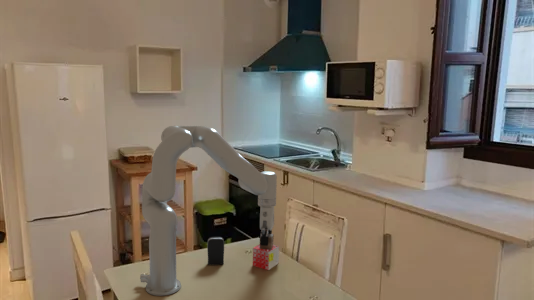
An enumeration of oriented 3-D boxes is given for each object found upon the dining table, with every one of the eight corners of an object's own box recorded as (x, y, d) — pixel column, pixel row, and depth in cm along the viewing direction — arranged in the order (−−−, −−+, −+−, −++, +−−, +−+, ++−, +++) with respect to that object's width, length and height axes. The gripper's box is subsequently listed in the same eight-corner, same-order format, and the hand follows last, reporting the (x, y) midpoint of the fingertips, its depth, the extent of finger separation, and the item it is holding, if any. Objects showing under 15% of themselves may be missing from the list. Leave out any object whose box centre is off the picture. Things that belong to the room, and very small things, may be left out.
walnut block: (259, 248, 176) (259, 237, 176) (261, 244, 181) (261, 233, 180) (271, 249, 176) (271, 238, 175) (273, 245, 180) (273, 234, 180)
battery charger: (223, 260, 182) (223, 235, 180) (224, 264, 178) (224, 238, 177) (207, 261, 181) (207, 236, 179) (207, 265, 177) (207, 239, 175)
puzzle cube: (268, 270, 174) (268, 252, 173) (252, 265, 178) (252, 247, 177) (278, 263, 181) (278, 246, 180) (263, 259, 185) (263, 242, 184)
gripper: (273, 207, 166) (272, 249, 169) (278, 196, 183) (277, 234, 186) (254, 206, 167) (253, 248, 170) (261, 195, 184) (260, 233, 187)
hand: (266, 241), depth 178 cm, fingers open, 9 cm apart
